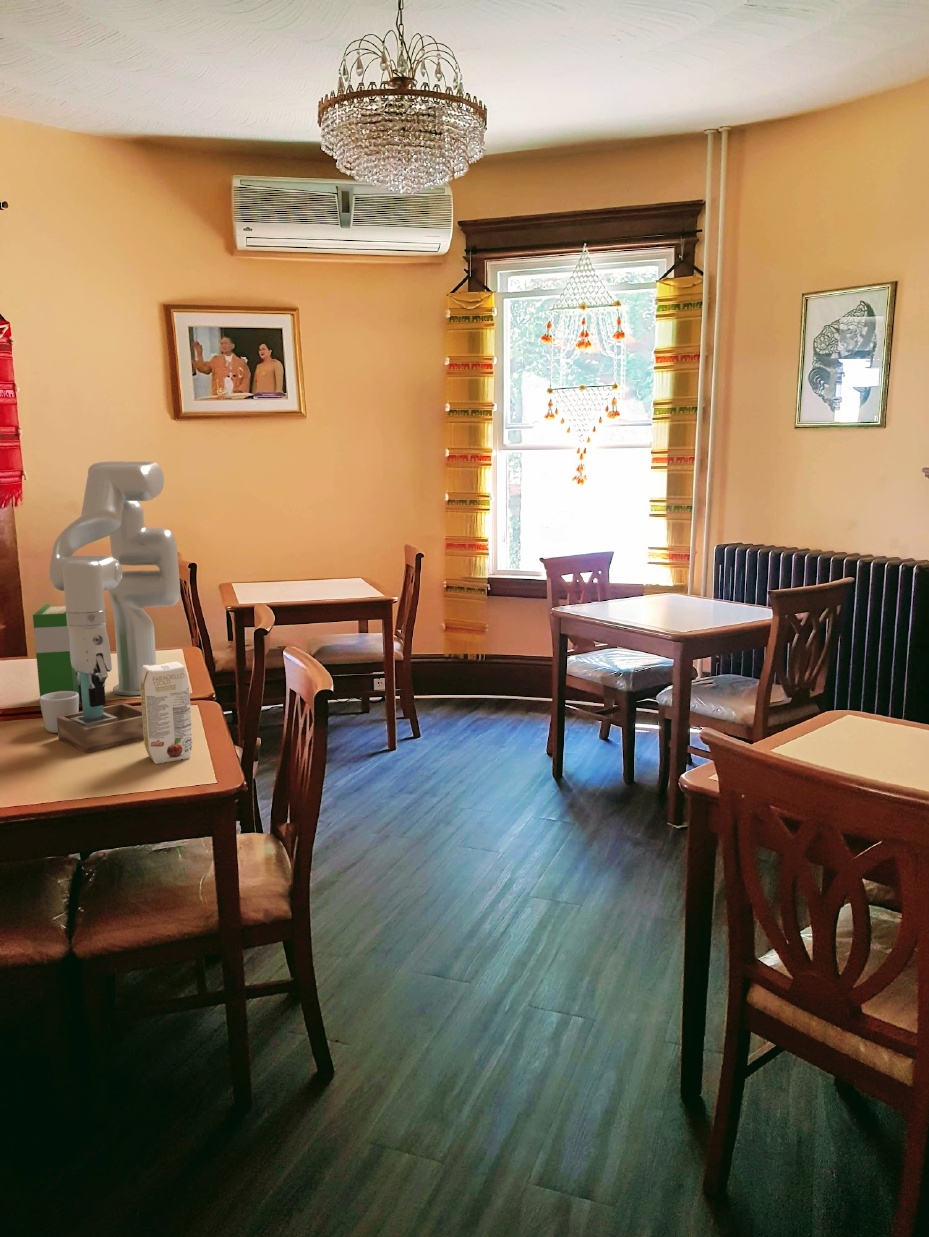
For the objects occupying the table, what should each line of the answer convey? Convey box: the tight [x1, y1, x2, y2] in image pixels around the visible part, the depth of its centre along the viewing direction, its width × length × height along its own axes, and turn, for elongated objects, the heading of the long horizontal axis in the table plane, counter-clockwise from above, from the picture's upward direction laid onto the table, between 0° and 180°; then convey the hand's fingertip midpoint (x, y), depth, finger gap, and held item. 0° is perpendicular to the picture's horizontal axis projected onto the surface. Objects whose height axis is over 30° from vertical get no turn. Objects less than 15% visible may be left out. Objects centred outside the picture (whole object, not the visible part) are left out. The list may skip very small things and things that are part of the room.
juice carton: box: [140, 661, 193, 765], centre depth 174 cm, size 8×9×19 cm
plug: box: [80, 670, 104, 718], centre depth 184 cm, size 4×4×10 cm
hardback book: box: [32, 603, 81, 714], centre depth 213 cm, size 18×7×24 cm, turn 16°
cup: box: [38, 691, 80, 734], centre depth 194 cm, size 11×8×8 cm
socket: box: [71, 712, 118, 727], centre depth 186 cm, size 7×7×4 cm
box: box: [57, 702, 144, 754], centre depth 188 cm, size 15×14×5 cm
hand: (92, 702), depth 185 cm, fingers closed on plug, 4 cm apart
